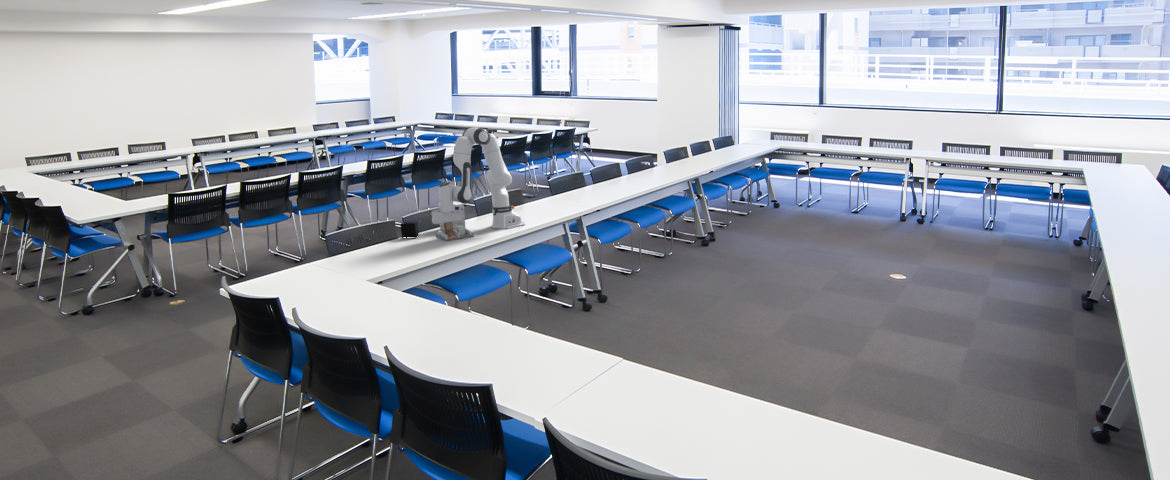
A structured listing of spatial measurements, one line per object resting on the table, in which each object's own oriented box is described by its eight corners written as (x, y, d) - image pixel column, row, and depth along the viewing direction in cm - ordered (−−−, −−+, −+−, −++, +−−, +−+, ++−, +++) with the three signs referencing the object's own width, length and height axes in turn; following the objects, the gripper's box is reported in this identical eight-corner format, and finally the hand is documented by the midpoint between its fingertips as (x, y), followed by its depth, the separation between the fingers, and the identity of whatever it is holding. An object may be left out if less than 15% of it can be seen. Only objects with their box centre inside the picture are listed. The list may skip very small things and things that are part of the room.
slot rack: (464, 231, 506) (463, 222, 504) (473, 236, 490) (473, 227, 489) (436, 235, 497) (435, 227, 495) (445, 241, 482) (444, 232, 480)
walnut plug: (453, 234, 490) (452, 222, 488) (447, 235, 488) (446, 222, 486) (450, 232, 495) (449, 220, 493) (444, 233, 493) (443, 221, 491)
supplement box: (439, 229, 516) (437, 203, 511) (457, 225, 523) (454, 200, 519) (448, 232, 505) (446, 206, 501) (466, 228, 513) (464, 203, 508)
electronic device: (416, 238, 493) (414, 223, 490) (401, 238, 495) (400, 223, 492) (418, 236, 497) (417, 221, 494) (404, 236, 499) (403, 221, 496)
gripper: (432, 211, 479) (434, 232, 483) (463, 206, 489) (464, 227, 492) (429, 209, 485) (431, 230, 488) (459, 205, 494) (461, 225, 498)
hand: (448, 229), depth 490 cm, fingers closed on walnut plug, 4 cm apart
